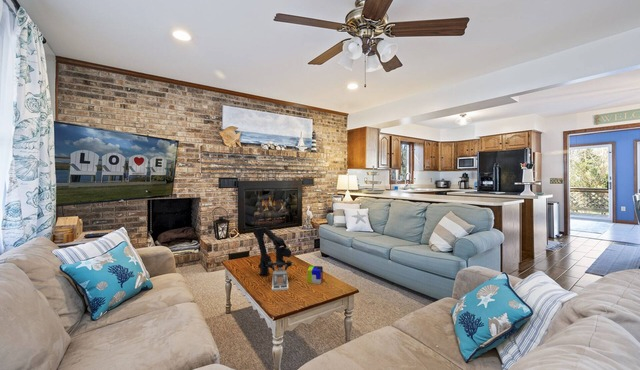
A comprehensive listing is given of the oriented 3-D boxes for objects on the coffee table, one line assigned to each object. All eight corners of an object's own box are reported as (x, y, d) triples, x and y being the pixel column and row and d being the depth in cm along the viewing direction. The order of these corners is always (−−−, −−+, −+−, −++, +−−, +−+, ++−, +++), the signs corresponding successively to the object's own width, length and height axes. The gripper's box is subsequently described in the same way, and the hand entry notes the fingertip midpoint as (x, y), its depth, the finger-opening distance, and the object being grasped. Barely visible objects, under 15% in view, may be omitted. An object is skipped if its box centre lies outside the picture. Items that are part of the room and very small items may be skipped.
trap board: (288, 289, 195) (288, 287, 195) (271, 290, 193) (271, 288, 193) (287, 276, 218) (287, 275, 218) (272, 278, 217) (272, 276, 216)
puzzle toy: (320, 283, 205) (320, 271, 204) (307, 282, 207) (307, 270, 206) (322, 278, 214) (322, 266, 214) (310, 277, 216) (310, 265, 216)
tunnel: (286, 284, 200) (286, 273, 200) (273, 285, 198) (273, 274, 198) (286, 280, 207) (286, 270, 206) (273, 281, 205) (273, 270, 205)
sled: (284, 284, 200) (284, 273, 200) (276, 284, 199) (275, 274, 199) (283, 276, 215) (283, 266, 215) (276, 276, 214) (276, 267, 214)
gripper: (267, 259, 203) (267, 279, 204) (291, 257, 206) (292, 277, 207) (267, 254, 214) (268, 273, 215) (291, 253, 217) (291, 272, 218)
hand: (279, 274), depth 213 cm, fingers open, 7 cm apart
